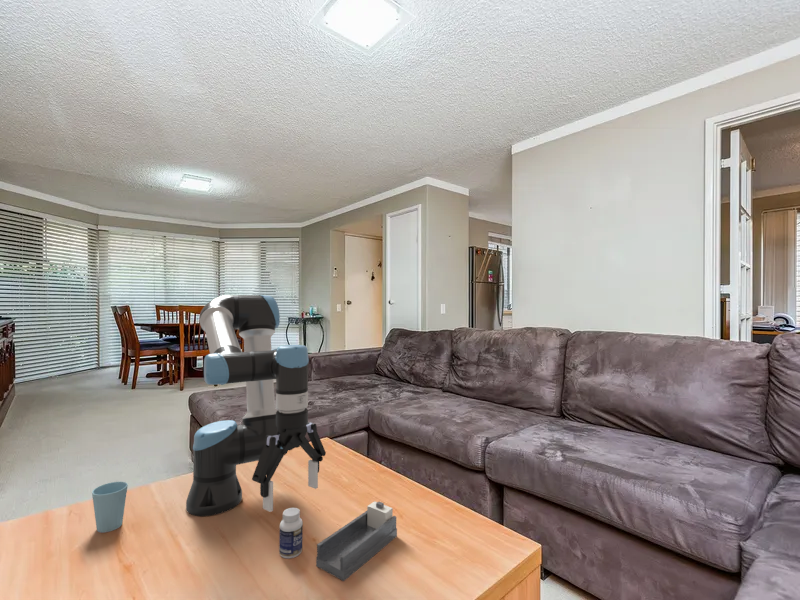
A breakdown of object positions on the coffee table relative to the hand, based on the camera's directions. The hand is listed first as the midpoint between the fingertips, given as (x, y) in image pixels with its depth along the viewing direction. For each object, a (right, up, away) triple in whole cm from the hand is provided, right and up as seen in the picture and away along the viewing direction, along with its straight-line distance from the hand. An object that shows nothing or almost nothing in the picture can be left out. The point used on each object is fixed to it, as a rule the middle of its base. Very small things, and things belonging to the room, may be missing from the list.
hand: (291, 497), depth 94 cm
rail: (+16, -13, +1) cm, 21 cm away
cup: (-52, -13, +10) cm, 54 cm away
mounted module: (+21, -11, +8) cm, 25 cm away
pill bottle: (0, -13, 0) cm, 13 cm away
